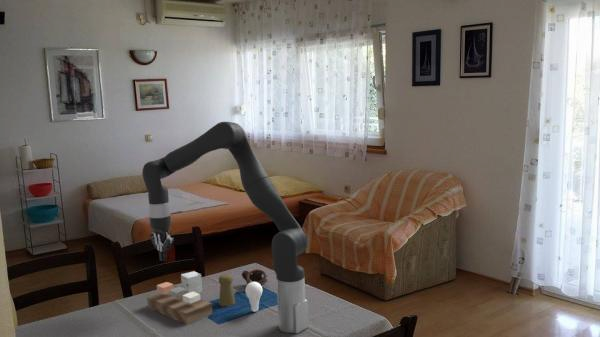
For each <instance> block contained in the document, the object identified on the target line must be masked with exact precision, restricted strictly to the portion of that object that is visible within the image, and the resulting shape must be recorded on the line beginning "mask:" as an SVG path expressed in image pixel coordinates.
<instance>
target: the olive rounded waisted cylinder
mask: <svg viewBox="0 0 600 337" xmlns="http://www.w3.org/2000/svg"><path fill="white" fill-rule="evenodd" d="M233 277H234V276H233V275H231V274H229V273H223V274H221V275H219V277H218V283H219V287H220V288H219V300H218V305H219V306H221V307H225V306H226V307H231V305H232V306H234V305H235V304H236V300H235V293H234V289H233V280H234V279H233ZM233 304H234V305H233Z"/></svg>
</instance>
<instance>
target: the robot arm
mask: <svg viewBox="0 0 600 337" xmlns="http://www.w3.org/2000/svg"><path fill="white" fill-rule="evenodd" d="M221 149H223V150H229V152H230V154H231V155H232V157H233V158H234V160H235V162H236V163H237V165H238V169H239V174H240V181H241V184H242V187H243V189H244V191H245V193H246V195H247V197H248V199H249V200H250V202H251V203H252V204H253V205H254V207H256V208H257V209H258V210H259V211H261V213H263V214H264V215H266V216H267V217H269V219H271V221H273V223H274V224H275V226H276V228H277V229H278V231H279V232H277V233H276V234H275V235H274V236H273V238H272V240H271V255H272V264H273V266H272V267H273V270H274V272H275V276H276V296H277V300H276V301H277V319H278V329H279V330H280V331H282V332H283V333H288V334H295V335H297V334H299V333H301V332H303V331H304V330H306V329H308V328H309V300H308V299H306V286H305V269H304V267H303V266H300V265H298V260H297V256H299V255H301V254H303V253H305V251H306V250H307V248H308V246H309V245H308V244H309V240H308V236H307V234H306V233H305V231H304V229H303V228H302V227H301V225H300V223H299V222H298V221H297V220H296V218H295V217H294V216H293V214H292V213H291V211H289V210H290V209H288V207H287V205H286V203H285V202H284V201H283V199H282V197H281V196H280V194H279V192H278V190H277V188H276V187H275V185H274V183H273V181H272V179H271V178H270V176H269V175H268V173H267V171H266V170H265V168H264V166H263V165H262V163H261V162H260V160H259V158H258V157H257V155H256V153H255V152H254V149H253V148H252V145H251V143H250V140H249V137H248V136H247V133H246V132H245V130H244V128H243V127H242V126H241V125H240V124H238V123H236V122H231V121H221V122H217V123H216V124H215V125H213V126H212V127H211V128H209V129H208V130H207V131H205V132H204V133H203V134H201V135H200V136H198V137H196V139H194V140H192V141H190V142H188V143H186V144H184V145H182V146H179V148H177V149H174V150H171V151H170V152H168V153H167V154H166V155H165V156H163V157H161V158H158V159H155V160H151V161H148V162H146V163H145V164H144V165H143V167H142V172H141V173H142V174H141V175H142V178H143V181H144V185H145V188H146V191H147V193H148V194H147V196H148V197H147V198H148V219H149V228H150V229H151V230H152V233H150V234H149V235H148V236H149V238H150V240H151V243H152V245H153V247H154V249H157V251H158V256H159V261H161V262H164V261H165V262H166V261H167V259H168V254H167V253H168V252H167V251H168V250H170V249H171V247H172V246H173V243H174V241H175V237H171V232H170V227H171V226H172V219H171V218H172V217H171V216H172V215H171V206H170V203H169V202H170V200H169V189H168V188H167V187H166V186H165V185H163V184H162V180H161V179H165V178H167V177H169V176H171V175H173V174H174V173H176V172H177V171H180V170H182V169H185V168H186V167H189V166H190V165H192V164H193V163H195V162H197V161H198V160H199V159H200V158H201V157H202V156H204V155H206V154H208V153H210V152H213V151H217V150H221Z"/></svg>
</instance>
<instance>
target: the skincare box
mask: <svg viewBox="0 0 600 337" xmlns="http://www.w3.org/2000/svg"><path fill="white" fill-rule="evenodd" d="M180 279H181V280H180V281H181V282H180V283H181V287H182V288H185V289H187V293H190V292H196V293H198V294H201V293H203V286H202V285H203V284H202V274H201V273H198V272H196V271H194V270H193V271H190V272H185V273H181V274H180Z"/></svg>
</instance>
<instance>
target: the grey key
mask: <svg viewBox="0 0 600 337" xmlns="http://www.w3.org/2000/svg"><path fill="white" fill-rule="evenodd" d="M169 293H170V296H172V297H175V298H179V297H182V296H183V295H185V294H187V289H185V288H182V286H177V287H174V289H171V290H169Z"/></svg>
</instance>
